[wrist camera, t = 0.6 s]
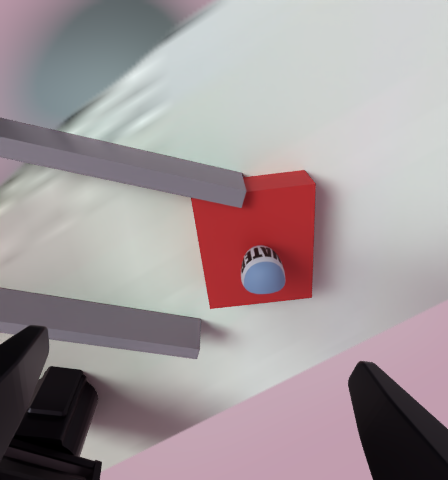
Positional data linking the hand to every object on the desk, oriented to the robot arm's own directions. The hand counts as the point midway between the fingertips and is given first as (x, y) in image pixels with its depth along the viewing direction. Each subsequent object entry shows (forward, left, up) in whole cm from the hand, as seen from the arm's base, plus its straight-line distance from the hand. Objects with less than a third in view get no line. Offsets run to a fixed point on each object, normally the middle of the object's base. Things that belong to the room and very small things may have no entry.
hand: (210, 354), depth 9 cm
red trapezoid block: (-2, -3, -13) cm, 14 cm away
